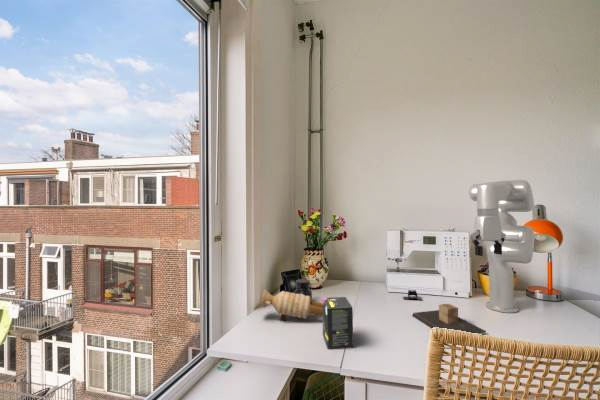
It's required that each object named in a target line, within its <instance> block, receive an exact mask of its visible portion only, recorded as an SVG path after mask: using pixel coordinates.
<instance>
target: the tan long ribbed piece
mask: <svg viewBox="0 0 600 400" xmlns="http://www.w3.org/2000/svg"><path fill="white" fill-rule="evenodd" d="M259 304H260V305H259V306H260V307H259V308H260V309H261V308H262V309H263V308H266V307H268V306H270V305H272V306H273V308H274V310H275V312H276V313H278V315H279V314H280V321H281V322H285V321H286V318H287V316H289V317H293V318H294V317H295V318H296V317H297V320H298V321H299V320H300V319H301V318H302V319H303V320H306V319H308V316H309V314H312V315H317V316H322V317H323V302H318V301H314V300H313V299H312V300H310V296H305V295H300V294H295V293H294V292H290V291H286V290H282V291H280V292H278V293H277V294H275V295H272V294H270V292H269V291H268V290H267V289H265V288H264V289H263V291H262V295H261V300H260V303H259Z"/></svg>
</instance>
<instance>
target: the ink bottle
mask: <svg viewBox="0 0 600 400" xmlns="http://www.w3.org/2000/svg"><path fill="white" fill-rule="evenodd" d="M310 283H311V281H310V280H309V279H306V278H299V279H296V280H295V288H296V289H295V290H294V291H293V293H295V294H300V295H305V296H310V300H312V301H313V293H312V290H311V289H310V288H311V284H310Z"/></svg>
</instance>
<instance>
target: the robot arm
mask: <svg viewBox="0 0 600 400" xmlns="http://www.w3.org/2000/svg"><path fill="white" fill-rule="evenodd" d="M468 195H469V198H470V199H471V201H474V202H476V213H477V215H476V217H475V219H474V222H473V223H474V224H473V232H472V233H471V234H470V235H469V238H470V241H471V243H472V244H473V246H474V255H475V256H479V257H483V256H484V255H483V254H484V252H483V251H484V248H483V247H484V246H483V243H484V242H488V243H487V244H486V248H485V249H486V256H487V261H488V289H489V290H488V292H489V293H488V298H489V301H486V302H485V307H486V308H488V309H490V310H492V311H495V312H500V313H506V314H507V313H508V314H513V313H517V312H519V308H518V306H516V305H517V304H521V303H522V300H521V299H520V298H515V294H514V292H515V290H514V289H515V287H514V286H515V284H514V281H515V280H514V270H513V268H512V267H511V266H510V265H509V263H516V264H525V265H526V264H530V263H531V262H532V260H533V256H534V250H535V249H534V248H535V237H536V236H535V232H534V229H533V228H532V227H531V226H527V225H518V222H517V221H518V220H517V219H516V218H515V217H514V216H513V215H512V214H511V213H528V212H529V213H530V212H531V211H533V209H534V208H535V199H534V194H533V190H532V187H531V184H530V183H529V181H527V180H525V179H515V180H500V181H492V182H483V183H476V184H475V183H474V184H472V185H471V186H470V187H469V189H468Z"/></svg>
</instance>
